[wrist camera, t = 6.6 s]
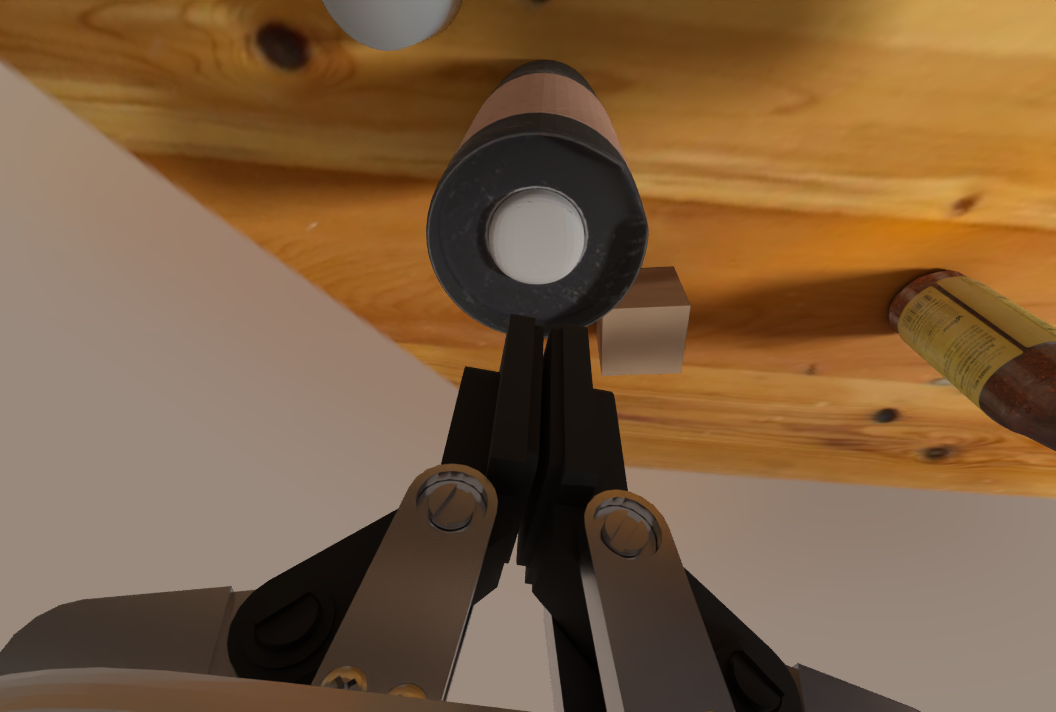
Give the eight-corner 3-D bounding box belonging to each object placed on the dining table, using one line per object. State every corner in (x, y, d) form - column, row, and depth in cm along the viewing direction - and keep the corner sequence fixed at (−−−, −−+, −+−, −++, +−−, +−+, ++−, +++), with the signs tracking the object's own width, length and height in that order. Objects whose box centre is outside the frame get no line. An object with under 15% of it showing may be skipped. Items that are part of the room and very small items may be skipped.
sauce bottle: (892, 344, 42) (1101, 561, 26) (875, 290, 39) (1100, 499, 23) (981, 308, 39) (1271, 523, 23) (971, 248, 36) (1296, 448, 20)
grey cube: (596, 269, 39) (602, 309, 34) (673, 266, 38) (690, 305, 33) (596, 332, 42) (601, 375, 37) (666, 329, 42) (680, 373, 37)
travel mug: (475, 161, 34) (406, 311, 18) (502, 35, 29) (443, 88, 13) (578, 193, 35) (599, 363, 19) (620, 77, 31) (694, 171, 15)
